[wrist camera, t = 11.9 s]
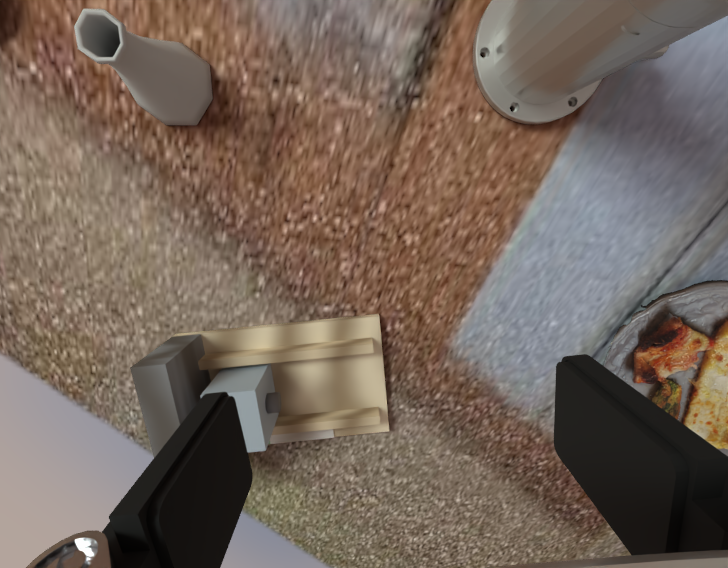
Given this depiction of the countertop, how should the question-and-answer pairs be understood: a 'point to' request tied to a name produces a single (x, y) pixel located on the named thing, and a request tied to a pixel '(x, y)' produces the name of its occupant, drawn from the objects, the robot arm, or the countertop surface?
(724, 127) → the countertop surface
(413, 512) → the countertop surface
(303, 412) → the board
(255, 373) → the grey cube with peg
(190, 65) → the flask
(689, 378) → the food plate
